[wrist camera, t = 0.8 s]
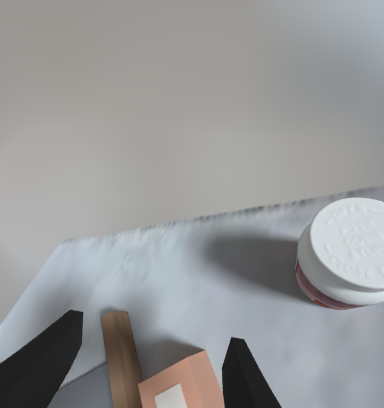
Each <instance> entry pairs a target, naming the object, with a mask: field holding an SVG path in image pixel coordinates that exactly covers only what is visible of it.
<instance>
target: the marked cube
mask: <svg viewBox="0 0 384 408" xmlns="http://www.w3.org/2000/svg"><path fill="white" fill-rule="evenodd" d="M138 387H139V392H140V397H141V402H142V407H143V408H225V406H224V398H223V394H222V391H221V389H220V386H219V384H218V381H217V378H216V376H215V373H214V371H213V368H212V365H211V363H210V360H209V358H208V355H207V352H206V350H204V351H202V352H199V353H197V354H194V355H191V356H189V357H187V358H185V359H183V360H181V361H179V362H178V363H176V364H174V365H172V366H170V367H168V368H167V369H165V370H163V371H161V372H159V373H158V374H156V375H154V376H152V377H150V378H148V379H147V380H145V381H143V382H141V383H139V384H138Z"/></svg>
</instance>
